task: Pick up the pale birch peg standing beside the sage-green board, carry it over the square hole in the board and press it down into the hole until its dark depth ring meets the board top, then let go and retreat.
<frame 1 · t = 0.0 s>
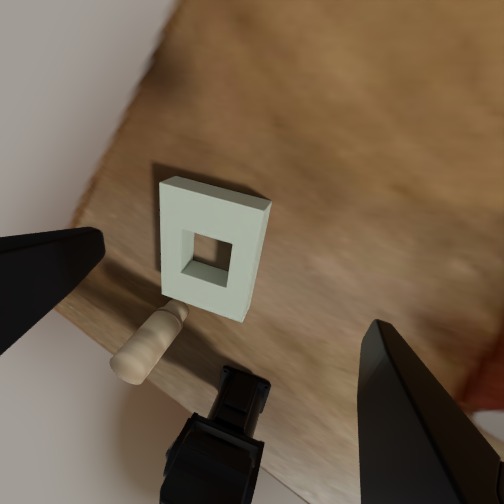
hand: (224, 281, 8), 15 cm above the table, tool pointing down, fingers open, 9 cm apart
peg: (178, 308, 32), on the table
board: (216, 247, 26), on the table
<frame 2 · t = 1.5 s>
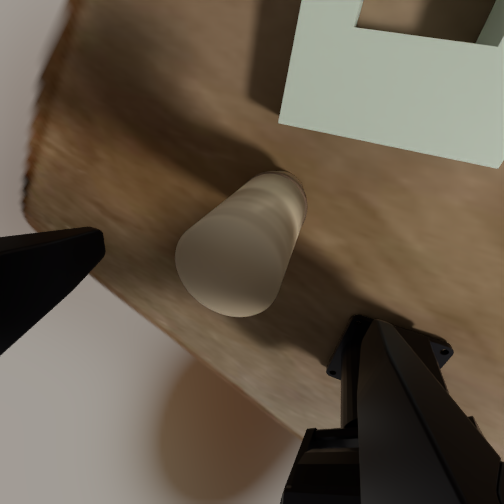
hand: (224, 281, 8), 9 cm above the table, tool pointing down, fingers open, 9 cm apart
peg: (280, 194, 16), on the table
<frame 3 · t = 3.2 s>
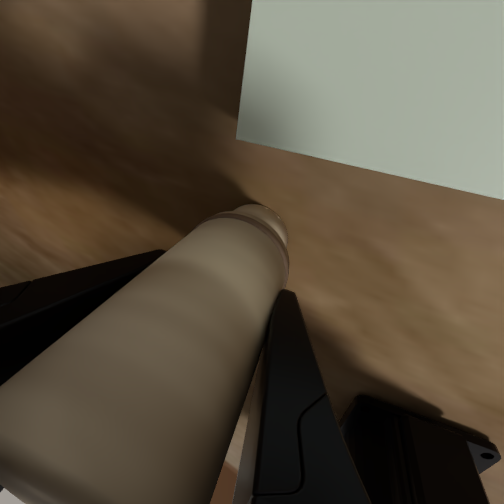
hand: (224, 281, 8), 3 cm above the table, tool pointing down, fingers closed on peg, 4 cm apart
peg: (255, 236, 11), on the table, touching gripper
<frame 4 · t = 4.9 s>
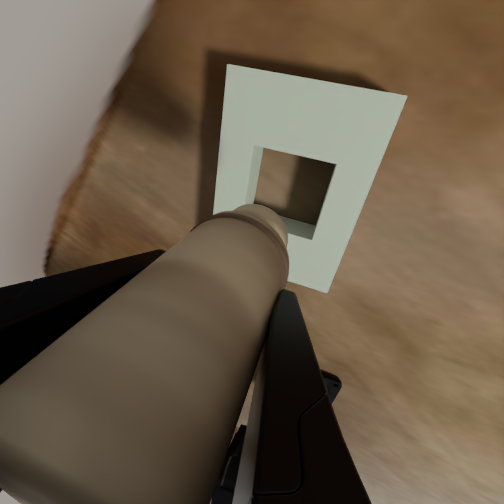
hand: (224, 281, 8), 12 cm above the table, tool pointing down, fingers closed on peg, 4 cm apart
peg: (255, 236, 11), point 8 cm above the table, touching gripper
board: (291, 185, 18), on the table
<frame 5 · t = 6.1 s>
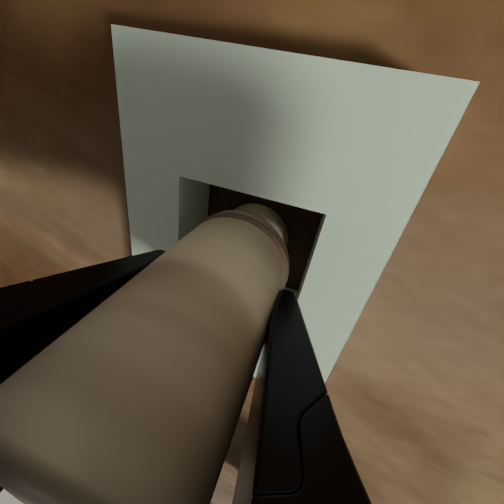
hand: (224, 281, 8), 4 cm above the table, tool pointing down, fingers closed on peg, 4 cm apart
peg: (255, 235, 11), resting in board, touching gripper
board: (258, 231, 11), on the table
when the fingers open (4 cm above the table, at t = 7.0 s): peg stays where it is, resting in board.
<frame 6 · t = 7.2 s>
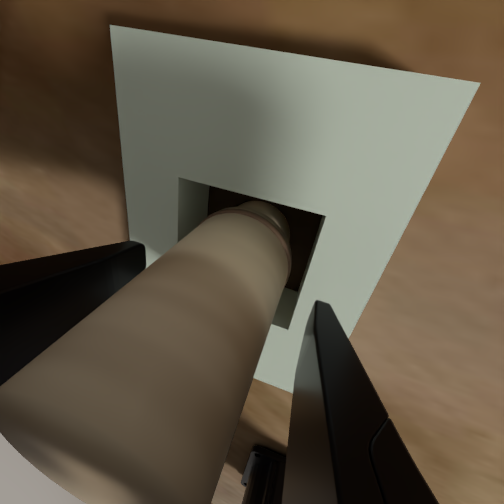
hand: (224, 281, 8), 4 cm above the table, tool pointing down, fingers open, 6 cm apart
peg: (258, 232, 11), resting in board
board: (257, 232, 11), on the table
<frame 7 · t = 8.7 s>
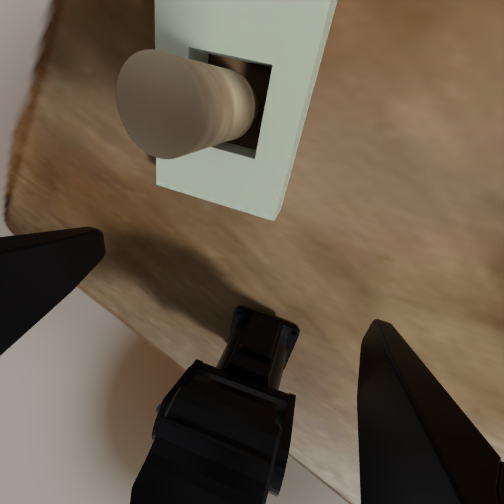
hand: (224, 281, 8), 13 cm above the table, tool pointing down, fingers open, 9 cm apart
peg: (238, 105, 17), resting in board
board: (238, 105, 17), on the table
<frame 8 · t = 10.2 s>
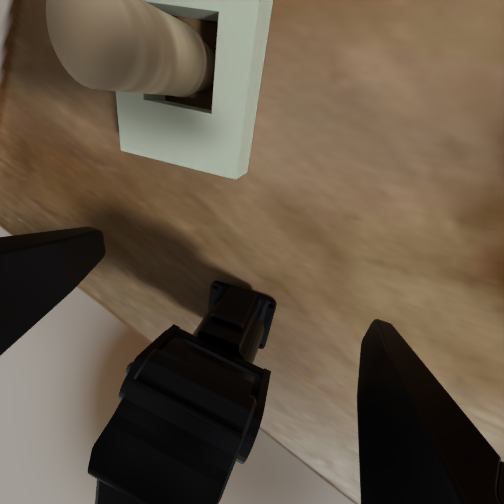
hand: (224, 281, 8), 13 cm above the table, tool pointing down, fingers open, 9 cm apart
peg: (197, 66, 18), resting in board
board: (197, 66, 17), on the table
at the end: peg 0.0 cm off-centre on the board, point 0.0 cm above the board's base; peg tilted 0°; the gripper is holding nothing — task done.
